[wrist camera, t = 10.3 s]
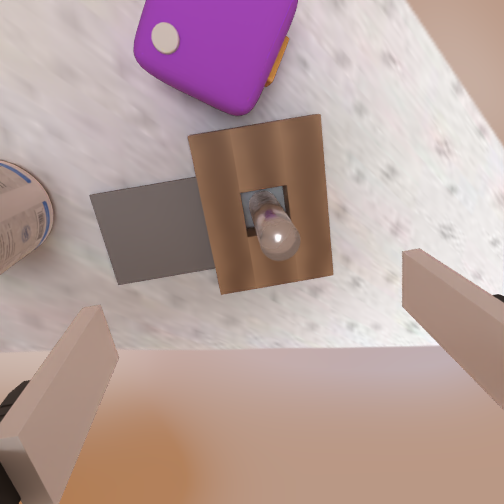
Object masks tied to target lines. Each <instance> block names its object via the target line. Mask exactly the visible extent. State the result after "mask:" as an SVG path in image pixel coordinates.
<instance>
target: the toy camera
mask: <svg viewBox="0 0 504 504" xmlns="http://www.w3.org/2000/svg"><path fill="white" fill-rule="evenodd" d="M297 3H298V0H146V2H145V5H144V8H143V12H142V15H141V18H140V22H139V25H138V28H137V32H136V36H135V40H134V56H135V58H136V60H137V62H138V63H139V65H140V66H141V67H142V68H143V69H144V70H146V71H147V72H148V73H150V74H151V75H153V76H154V77H156V78H158V79H159V80H161V81H162V82H164V83H166V84H168V85H170V86H172V87H174V88H176V89H178V90H180V91H182V92H184V93H186V94H188V95H190V96H192V97H194V98H196V99H198V100H200V101H202V102H204V103H206V104H208V105H211V106H213V107H215V108H217V109H219V110H221V111H223V112H225V113H228V114H231V115H235V116H241V115H245V114H247V113H248V112H250V111H251V110H252V109H253V107H254V106H255V104H256V103H257V101H258V99H259V97H260V95H261V92H262V90H263V88H264V87H267V86H268V85H270V84H271V83H272V82H273V80H274V77H275V75H276V72H277V69H278V67H279V64H280V62H281V59H282V56H283V54H284V51H285V49H286V46H287V43H288V41H289V37H287V36H286V34H287V32H288V30H289V27H290V25H291V22H292V20H293V17H294V14H295V11H296V8H297Z"/></svg>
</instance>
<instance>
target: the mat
mask: <svg viewBox="0 0 504 504" xmlns="http://www.w3.org/2000/svg"><path fill="white" fill-rule="evenodd" d="M89 196H90V199H91V202H92V205H93V208H94V211H95V214H96V217H97V220H98V224H99V227H100V230H101V233H102V236H103V239H104V242H105V245H106V248H107V251H108V254H109V257H110V260H111V264H112V267H113V270H114V273H115V276H116V279H117V282H118V285H122V284H128V283H133V282H139V281H145V280H151V279H156V278H162V277H168V276H174V275H179V274H185V273H191V272H197V271H202V270H208V269H214V268H215V264H214V259H213V254H212V249H211V245H210V240H209V235H208V231H207V226H206V221H205V216H204V212H203V207H202V202H201V197H200V193H199V188H198V183H197V178H196V177H192V178H187V179H181V180H175V181H169V182H163V183H157V184H151V185H145V186H139V187H134V188H128V189H122V190H116V191H110V192H104V193H98V194H92V195H89Z"/></svg>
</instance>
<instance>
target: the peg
mask: <svg viewBox="0 0 504 504" xmlns="http://www.w3.org/2000/svg"><path fill="white" fill-rule="evenodd" d="M249 209H250V212H251V216H252V219H253V223H254V226H255V230H256V233H257V237H258V240H259V244H260V247H261V250H262V252H263V253H264V255H266V256H267V257H268V258H270V259H272V260H275V261H283V260H287V259H289V258H291V257H292V256H293V255H294V254H295V253H296V252H297V251H298V249H299V246H300V235H299V232H298V231H297V229H296V228H295V226H294V225H293V223H292V222H291V220H290V218H289V217H288V215H287V214H286V212H285V211H284V209H283V208H282V206H281V205H280V203H279V202H278V200H277V199H276V197H275V196H274V195H273V194H272V193H270V192H268V191H259V192H257V193H255V194H254V195H253V196H252V197H251V199H250V201H249Z"/></svg>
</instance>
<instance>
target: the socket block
mask: <svg viewBox="0 0 504 504" xmlns="http://www.w3.org/2000/svg"><path fill="white" fill-rule="evenodd" d="M188 141H189V145H190V150H191V155H192V159H193V164H194V169H195V174H196V178H197V183H198V188H199V193H200V197H201V202H202V207H203V212H204V216H205V221H206V226H207V231H208V235H209V240H210V245H211V249H212V254H213V259H214V264H215V268H216V273H217V278H218V283H219V287H220V292H221V295H223V294H228V293H234V292H240V291H246V290H251V289H257V288H263V287H268V286H274V285H280V284H286V283H291V282H297V281H303V280H308V279H314V278H320V277H326V276H331V275H333V264H332V251H331V239H330V227H329V214H328V202H327V189H326V177H325V164H324V152H323V140H322V127H321V115H320V114H314V115H307V116H301V117H295V118H289V119H283V120H277V121H271V122H266V123H260V124H254V125H248V126H242V127H236V128H230V129H224V130H218V131H212V132H206V133H200V134H194V135H190V136H188ZM278 186H283V192H284V200H285V208H286V214H287V215H288V217H289V218H290V220H291V222H292V223H293V225H294V226H295V228H296V229H297V231H298V232H299V235H300V246H299V249H298V251H297V252H296V253H295V254H294V255H293V256H292V257H291V258H289V259H287V260H283V261H275V260H272V259H270V258H268V257H267V256H266V255H264V253H263V252H262V250H261V247H260V244H259V240H258V237H257V233H256V230H255V227H253V228H247V229H246V225H245V219H244V213H243V207H242V201H241V195H240V193H243V192H248V191H254V190H260V189H266V188H272V187H278Z"/></svg>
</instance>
